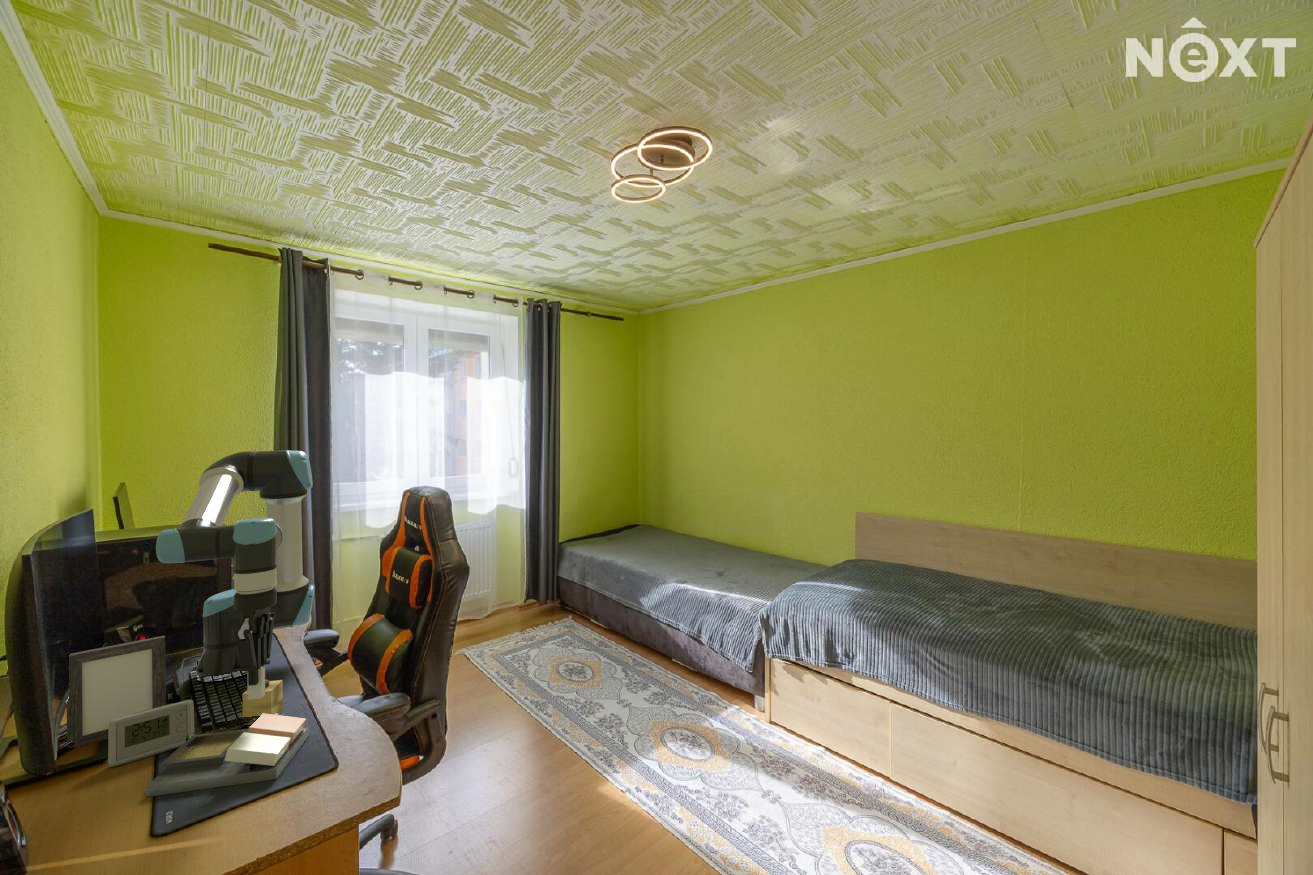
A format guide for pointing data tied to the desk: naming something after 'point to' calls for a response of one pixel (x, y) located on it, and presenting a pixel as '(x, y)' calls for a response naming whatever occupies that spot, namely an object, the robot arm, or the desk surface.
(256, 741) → the rocker plain
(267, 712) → the tan wooden block
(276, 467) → the robot arm
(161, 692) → the picture frame
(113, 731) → the digital clock
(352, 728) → the desk surface
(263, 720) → the orange tan rectangular block
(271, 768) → the panel
